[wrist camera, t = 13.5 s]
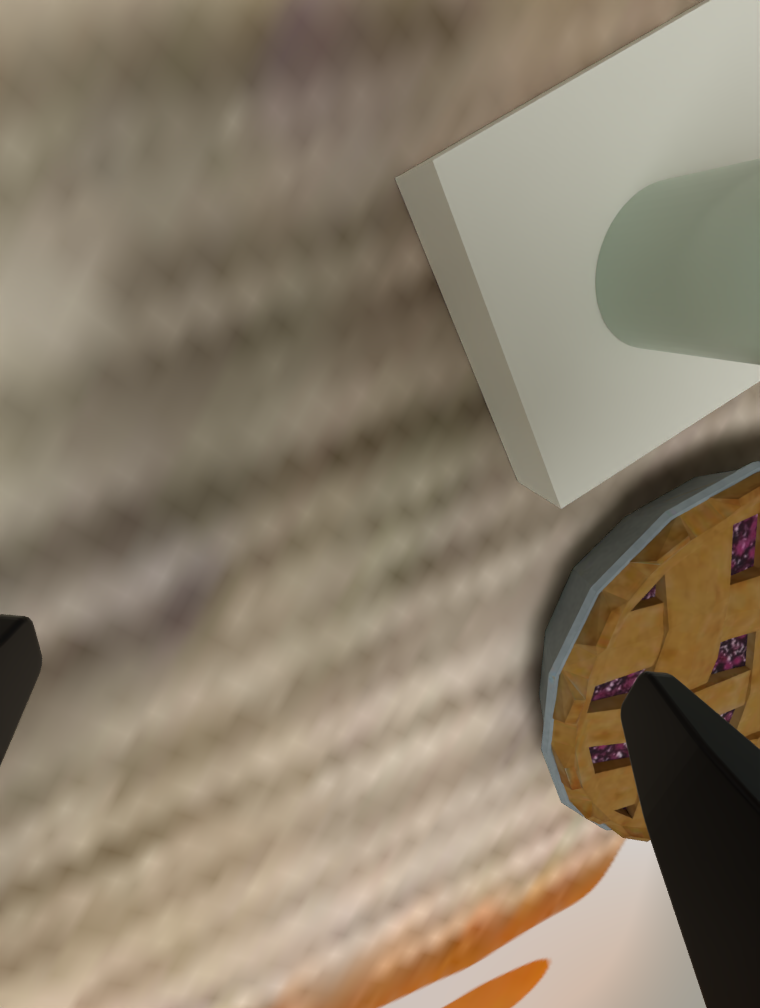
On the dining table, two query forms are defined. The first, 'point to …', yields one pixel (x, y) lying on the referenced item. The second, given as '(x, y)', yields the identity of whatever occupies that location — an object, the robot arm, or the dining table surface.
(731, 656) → the pie
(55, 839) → the dining table surface
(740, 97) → the stand
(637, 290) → the ball
